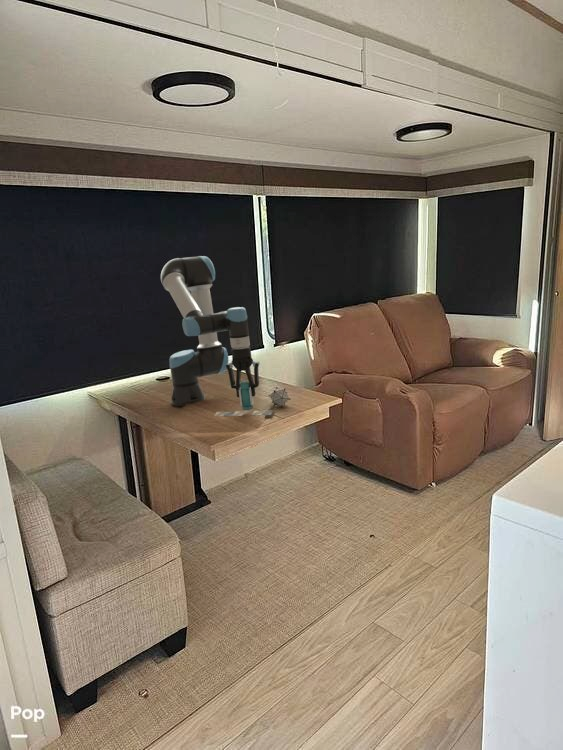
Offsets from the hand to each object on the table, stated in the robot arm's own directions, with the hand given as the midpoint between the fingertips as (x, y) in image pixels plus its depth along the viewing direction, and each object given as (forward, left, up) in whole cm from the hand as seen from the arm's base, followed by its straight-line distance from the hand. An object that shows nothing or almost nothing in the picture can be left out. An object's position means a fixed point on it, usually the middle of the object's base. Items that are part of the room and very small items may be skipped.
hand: (247, 404), depth 202 cm
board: (-2, 0, -5) cm, 6 cm away
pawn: (0, 0, -2) cm, 2 cm away
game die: (+11, +12, -5) cm, 17 cm away
